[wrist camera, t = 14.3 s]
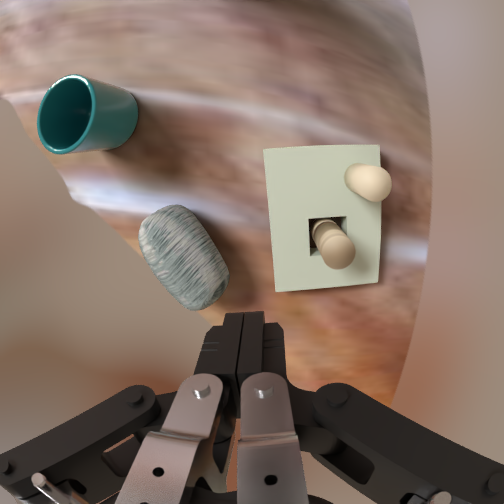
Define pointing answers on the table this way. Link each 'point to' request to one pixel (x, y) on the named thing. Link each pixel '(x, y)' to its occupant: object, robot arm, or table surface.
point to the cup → (85, 116)
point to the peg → (332, 243)
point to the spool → (183, 257)
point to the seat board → (324, 211)
